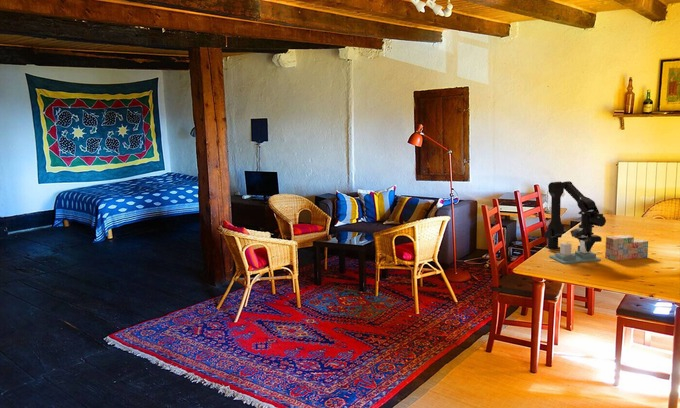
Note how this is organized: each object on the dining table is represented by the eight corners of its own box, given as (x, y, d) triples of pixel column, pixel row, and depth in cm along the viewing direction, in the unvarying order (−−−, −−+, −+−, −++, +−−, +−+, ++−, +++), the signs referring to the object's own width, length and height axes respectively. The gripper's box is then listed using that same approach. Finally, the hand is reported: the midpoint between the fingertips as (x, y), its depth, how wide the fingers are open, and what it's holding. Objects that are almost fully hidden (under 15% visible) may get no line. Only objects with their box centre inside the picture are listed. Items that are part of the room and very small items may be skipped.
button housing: (577, 250, 311) (577, 245, 311) (585, 250, 312) (585, 245, 312) (582, 252, 307) (583, 247, 306) (590, 252, 307) (591, 247, 307)
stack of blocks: (639, 254, 299) (640, 233, 297) (647, 257, 293) (649, 235, 291) (604, 258, 296) (605, 236, 294) (612, 261, 290) (613, 238, 287)
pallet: (549, 257, 300) (549, 241, 299) (584, 254, 304) (585, 238, 303) (563, 263, 287) (564, 247, 285) (600, 260, 290) (601, 244, 289)
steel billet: (579, 253, 298) (580, 239, 296) (586, 253, 298) (586, 239, 297) (584, 255, 294) (584, 241, 293) (590, 255, 295) (591, 240, 293)
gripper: (563, 221, 301) (562, 247, 304) (583, 227, 283) (582, 256, 285) (581, 219, 303) (580, 246, 305) (602, 226, 285) (601, 254, 287)
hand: (585, 250), depth 296 cm, fingers closed on steel billet, 4 cm apart
